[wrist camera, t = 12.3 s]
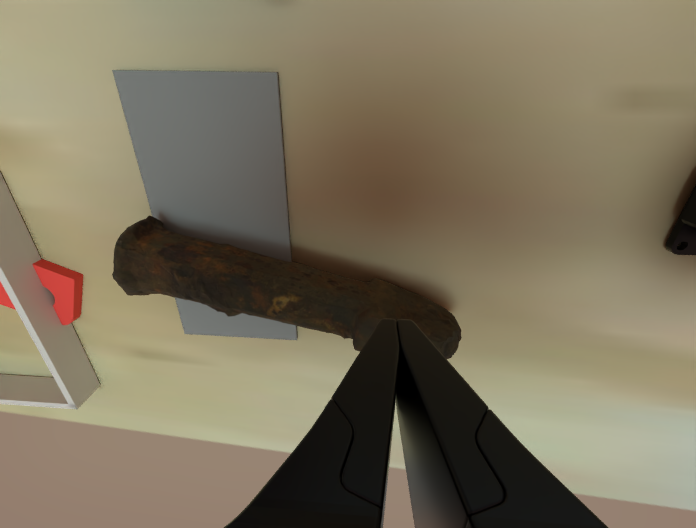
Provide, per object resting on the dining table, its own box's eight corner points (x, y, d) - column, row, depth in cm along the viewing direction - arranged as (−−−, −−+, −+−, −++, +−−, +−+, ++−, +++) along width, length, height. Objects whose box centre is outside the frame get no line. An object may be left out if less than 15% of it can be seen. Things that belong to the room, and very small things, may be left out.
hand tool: (154, 266, 20) (99, 310, 16) (153, 208, 19) (92, 240, 14) (434, 343, 22) (449, 400, 18) (460, 296, 20) (483, 348, 16)
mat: (277, 72, 15) (276, 72, 15) (297, 338, 22) (296, 340, 22) (115, 70, 16) (112, 70, 15) (186, 332, 23) (184, 333, 23)
